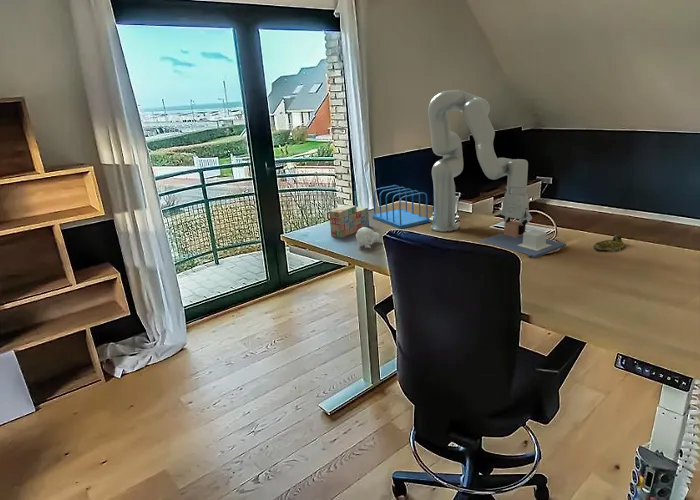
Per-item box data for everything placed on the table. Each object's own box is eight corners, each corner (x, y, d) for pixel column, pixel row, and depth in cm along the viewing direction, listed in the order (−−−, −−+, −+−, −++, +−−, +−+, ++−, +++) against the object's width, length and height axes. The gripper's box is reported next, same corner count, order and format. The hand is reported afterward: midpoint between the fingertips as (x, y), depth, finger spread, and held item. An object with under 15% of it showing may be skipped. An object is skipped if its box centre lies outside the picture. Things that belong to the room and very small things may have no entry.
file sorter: (372, 218, 241) (370, 189, 236) (400, 212, 249) (399, 183, 244) (400, 229, 220) (399, 197, 215) (430, 222, 228) (429, 191, 223)
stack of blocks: (359, 224, 232) (357, 200, 228) (369, 226, 229) (368, 201, 225) (330, 236, 217) (328, 210, 213) (341, 238, 213) (339, 211, 209)
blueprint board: (479, 242, 195) (479, 240, 194) (510, 232, 205) (510, 229, 204) (533, 258, 174) (533, 255, 173) (565, 246, 184) (566, 243, 184)
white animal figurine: (354, 227, 197) (372, 223, 205) (354, 247, 199) (372, 242, 207) (365, 229, 192) (384, 225, 201) (365, 250, 195) (383, 244, 203)
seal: (610, 258, 173) (631, 248, 181) (612, 246, 171) (634, 236, 179) (586, 249, 180) (607, 240, 188) (588, 238, 178) (609, 229, 186)
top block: (503, 234, 199) (504, 223, 198) (513, 231, 202) (513, 220, 201) (515, 237, 194) (516, 226, 193) (525, 234, 198) (525, 223, 196)
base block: (522, 245, 185) (523, 232, 183) (532, 241, 188) (533, 229, 186) (535, 248, 180) (536, 236, 179) (545, 245, 183) (546, 232, 182)
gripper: (493, 188, 197) (492, 230, 203) (529, 194, 183) (526, 238, 189) (505, 186, 201) (503, 226, 207) (541, 191, 187) (538, 234, 193)
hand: (514, 232), depth 198 cm, fingers closed on top block, 6 cm apart
